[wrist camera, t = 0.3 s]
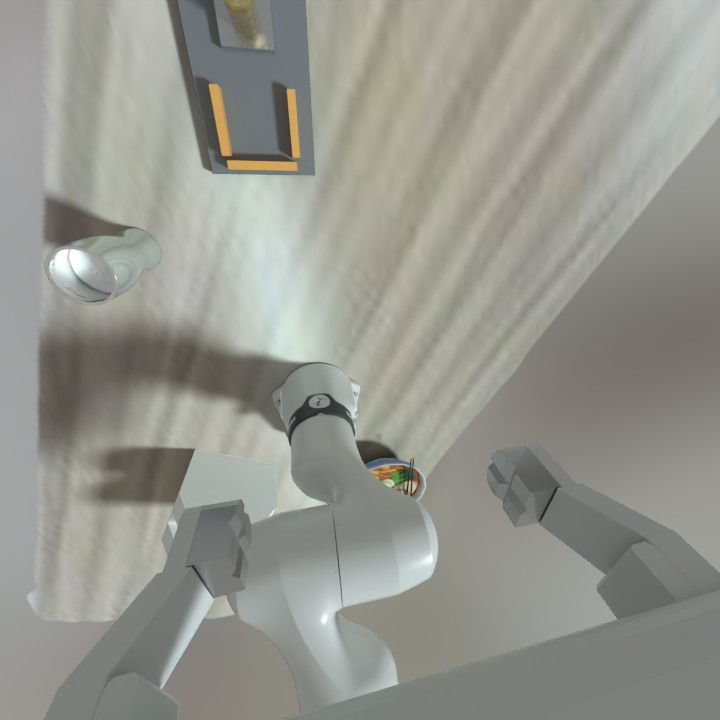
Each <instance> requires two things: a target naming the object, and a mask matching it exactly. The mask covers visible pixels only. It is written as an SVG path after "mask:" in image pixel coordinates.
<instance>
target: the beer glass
mask: <svg viewBox="0 0 720 720" xmlns="http://www.w3.org/2000/svg"><path fill="white" fill-rule="evenodd" d="M161 259H162V251H161V248H160V245H159V244H158V242H157V241H156V239H155V238H154V237H153V236H151V235H150V234H149V233H147V232H145V231H143V230H140V229H136V228H127V229H124V230H122V231H120V232H119V233H118V234H117V235H116V236H113V235H97V236H88V237H84V238H80V239H77V240H74V241H72V242H69V243H67V244H65V245H63V246H61V247H58V248H55V249H53V250H52V251H51V252H50V253H49V254H48V255H47V256H46V259H45V262H44V269H45V273H46V276H47V278H48V280H49V281H50V283H51V284H52V285H53V287H54V288H55V289H56V290H57V291H59V292H60V293H61V294H62V295H64V296H65V297H67V298H69V299H71V300H73V301H75V302H78V303H81V304H85V305H100V304H104V303H107V302H108V301H110V300H112V299H114V298H116V297H118V296H120V295H122V294H123V293H125V292H127V291H128V290H129V289H131V288H132V287H133V286H134V285H135V284H136V283H137V282H138V280H139V279H140V278H141V276H142V274H143V273H144V271H147V270H151V269H153V268H155V267H157V266H158V265H159V264H160V262H161Z"/></svg>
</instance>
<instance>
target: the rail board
mask: <svg viewBox="0 0 720 720" xmlns="http://www.w3.org/2000/svg"><path fill="white" fill-rule="evenodd" d="M177 2H178V7H179V12H180V17H181V21H182V26H183V31H184V36H185V41H186V46H187V51H188V56H189V61H190V65H191V70H192V75H193V80H194V85H195V90H196V95H197V100H198V104H199V109H200V114H201V119H202V124H203V129H204V134H205V139H206V143H207V148H208V153H209V158H210V163H211V168H212V173H213V174H266V175H315V166H314V148H313V129H312V111H311V93H310V74H309V56H308V38H307V19H306V1H305V0H270V4H271V14H272V25H273V35H274V46H275V53H265V52H254V51H242V50H230V49H222V47H221V43H220V37H219V30H218V24H217V18H216V12H215V6H214V0H177Z"/></svg>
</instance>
